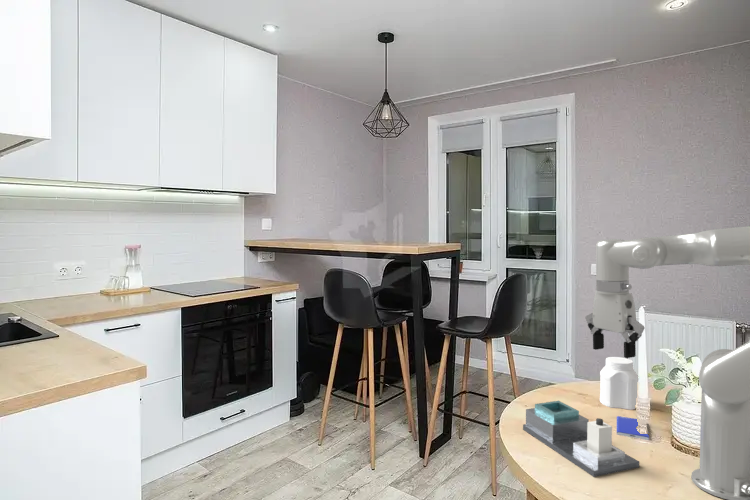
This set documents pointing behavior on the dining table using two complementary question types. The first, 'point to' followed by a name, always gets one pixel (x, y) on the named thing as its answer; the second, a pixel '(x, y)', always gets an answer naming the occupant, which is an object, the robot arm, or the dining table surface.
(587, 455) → the grey desk organizer
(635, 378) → the jar
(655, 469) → the dining table surface
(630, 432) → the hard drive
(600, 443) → the plug
